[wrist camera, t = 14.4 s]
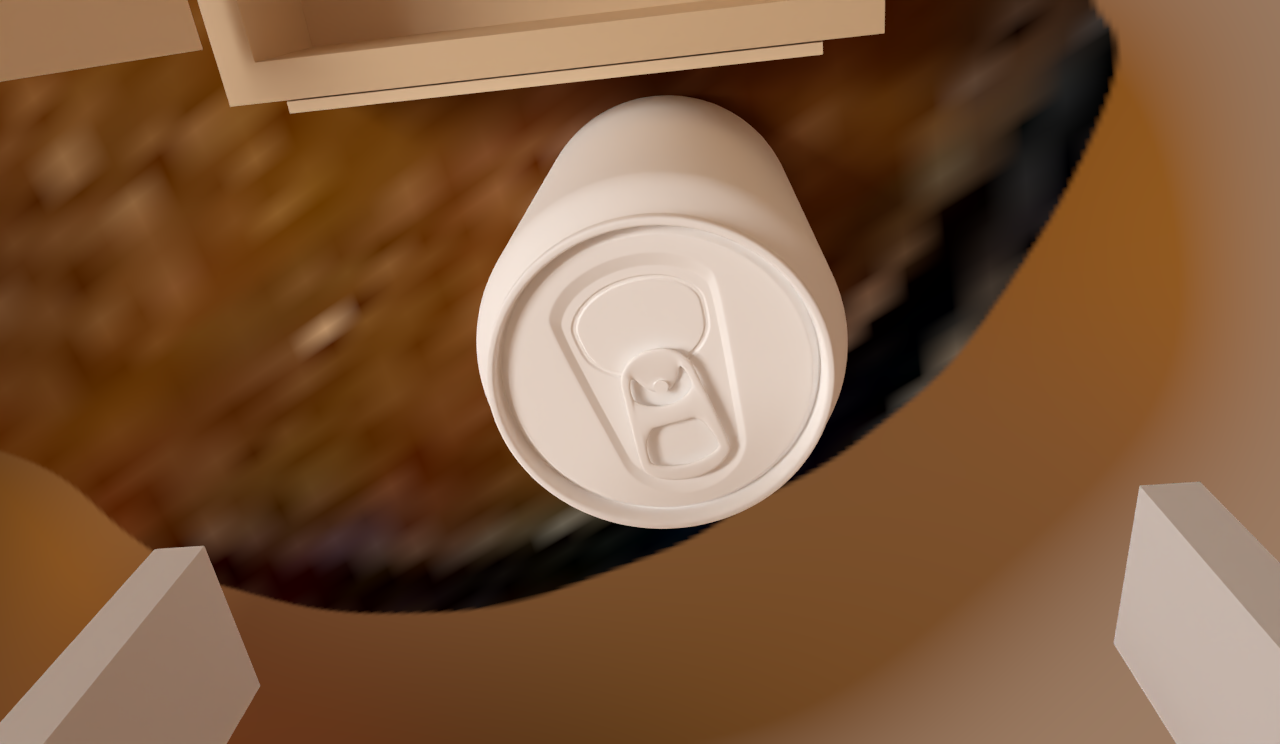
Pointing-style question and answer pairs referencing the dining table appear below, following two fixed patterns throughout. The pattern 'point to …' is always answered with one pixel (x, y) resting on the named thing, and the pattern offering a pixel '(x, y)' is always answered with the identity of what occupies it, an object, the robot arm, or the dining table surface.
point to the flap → (90, 33)
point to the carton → (499, 43)
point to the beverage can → (663, 321)
